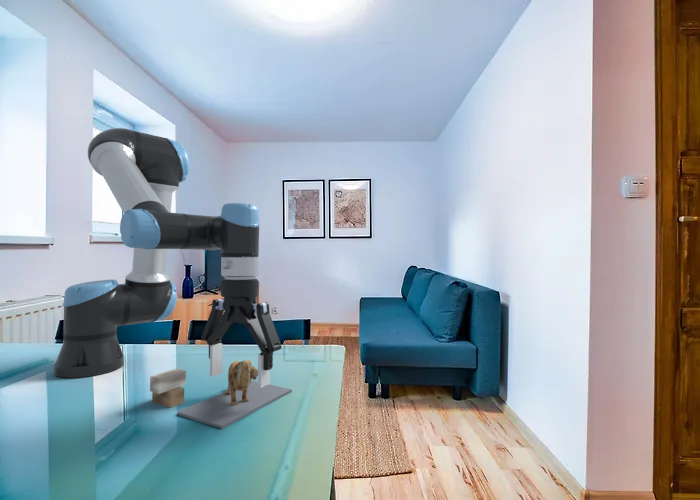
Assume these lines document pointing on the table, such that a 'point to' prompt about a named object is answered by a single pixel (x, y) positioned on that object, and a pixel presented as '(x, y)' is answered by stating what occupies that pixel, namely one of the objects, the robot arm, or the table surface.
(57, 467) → the table surface
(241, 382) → the lion figurine
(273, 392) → the gray mat
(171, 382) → the brick stack
